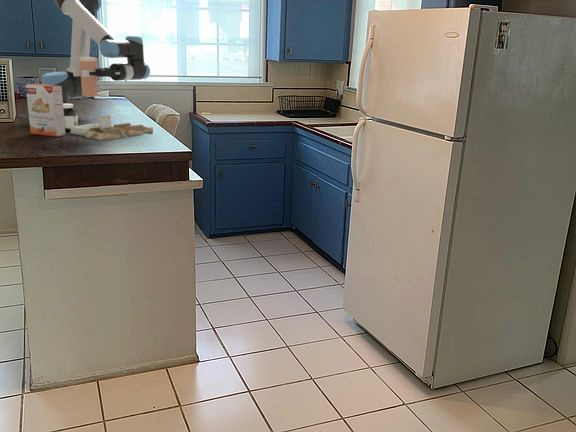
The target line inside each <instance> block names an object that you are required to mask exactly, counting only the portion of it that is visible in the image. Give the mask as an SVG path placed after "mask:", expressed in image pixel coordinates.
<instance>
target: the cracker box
mask: <svg viewBox="0 0 576 432" xmlns="http://www.w3.org/2000/svg"><path fill="white" fill-rule="evenodd" d="M25 90H26V91H25V92H26V101H27V112H28V119H29V121H28V122H29V130H30V134H31V135H38V136H39V135H40V136H48V137H55V138H56V137H57V138H58V137H62V136H66V134H67V132H65V121H64V109H63V97H62V86H55V85H45V84H42V83H28V84H25Z"/></svg>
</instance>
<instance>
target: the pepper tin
mask: <svg viewBox="0 0 576 432" xmlns="http://www.w3.org/2000/svg"><path fill="white" fill-rule="evenodd" d="M97 117H98V120H97V121H98V124H99V133H103V129H111V126H112V118H111V117H112V116H111V115H108V114H107V115H105V114H102V115H98V116H97Z"/></svg>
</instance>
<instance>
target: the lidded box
mask: <svg viewBox="0 0 576 432" xmlns="http://www.w3.org/2000/svg"><path fill="white" fill-rule="evenodd" d="M79 60H80V71H81V70H95V72H96V69H97V62H96V57H95V56H89V57H79ZM97 79H98V77H97V76H96V77H82V71H81V86H82V96H89V97H98V95H99V94H98V80H97Z"/></svg>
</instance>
